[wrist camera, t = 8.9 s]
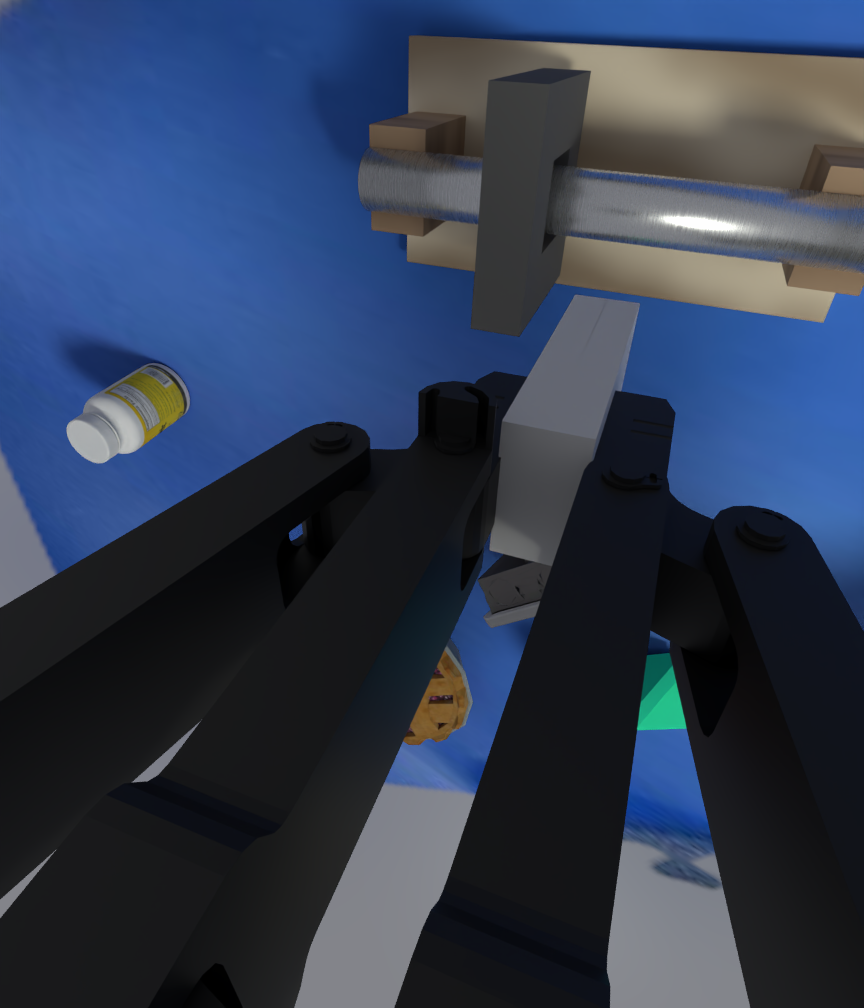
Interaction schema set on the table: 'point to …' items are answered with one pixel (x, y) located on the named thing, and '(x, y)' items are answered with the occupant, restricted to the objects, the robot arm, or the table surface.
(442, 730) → the pie
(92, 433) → the supplement bottle
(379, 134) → the pipe stand
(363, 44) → the table surface
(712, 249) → the pipe
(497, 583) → the electrical switch
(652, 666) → the camera mount
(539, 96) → the collar
